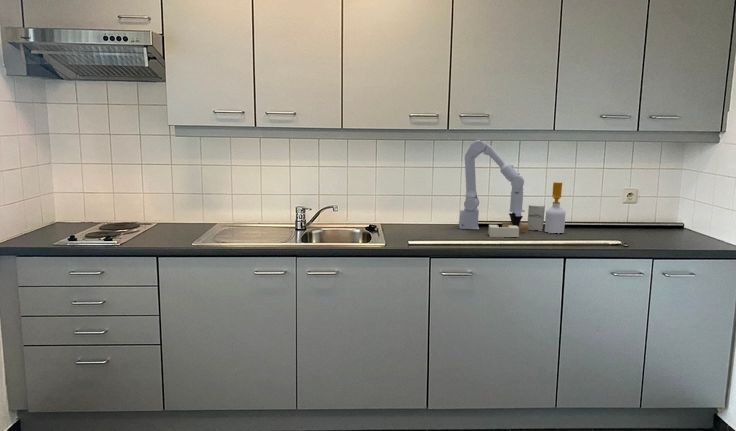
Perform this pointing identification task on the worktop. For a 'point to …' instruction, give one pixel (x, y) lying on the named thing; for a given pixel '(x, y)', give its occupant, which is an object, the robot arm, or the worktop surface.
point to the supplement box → (536, 216)
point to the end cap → (503, 231)
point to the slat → (522, 227)
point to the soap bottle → (555, 213)
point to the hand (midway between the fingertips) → (514, 228)
